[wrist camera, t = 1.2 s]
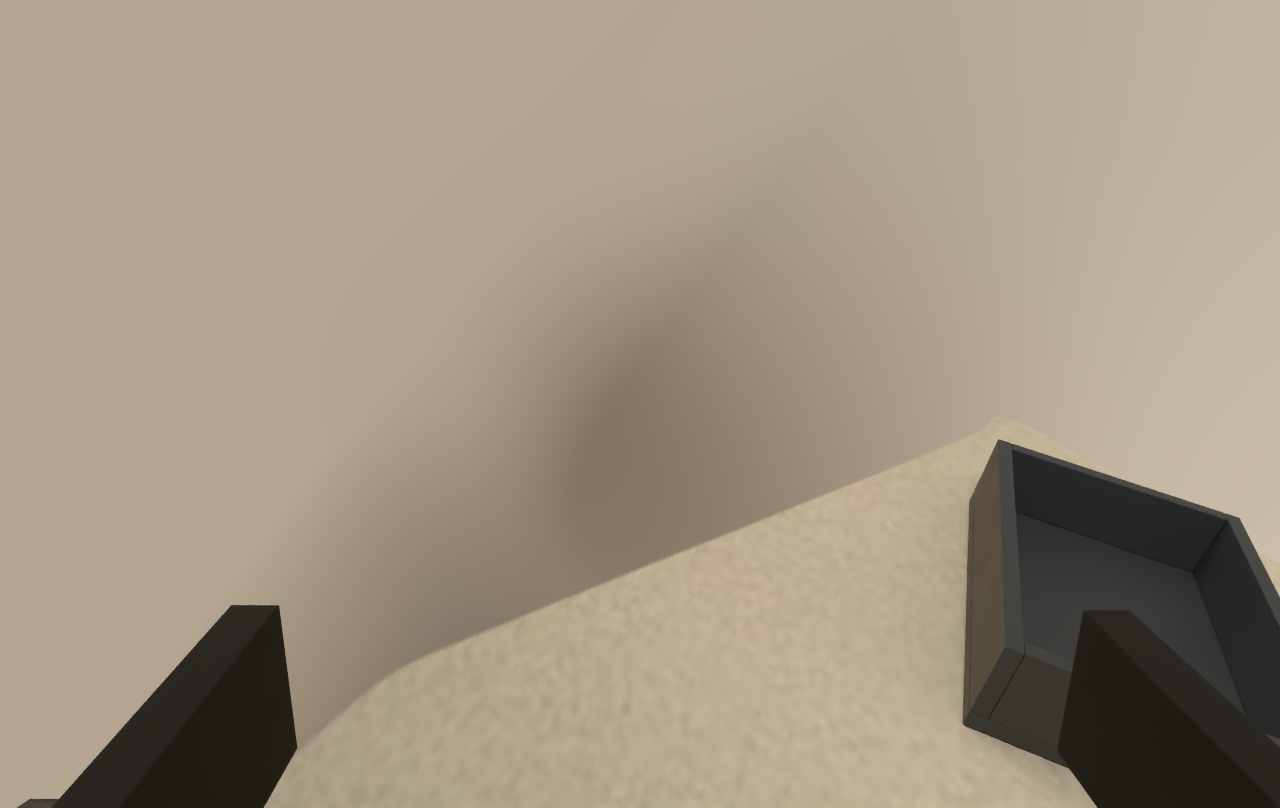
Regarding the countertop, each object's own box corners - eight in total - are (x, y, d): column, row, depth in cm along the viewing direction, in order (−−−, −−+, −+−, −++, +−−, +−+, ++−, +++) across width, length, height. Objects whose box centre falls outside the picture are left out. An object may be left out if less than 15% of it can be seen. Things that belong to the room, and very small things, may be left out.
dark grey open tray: (962, 724, 36) (1005, 646, 34) (969, 501, 53) (998, 438, 50) (1304, 865, 33) (1378, 789, 31) (1197, 580, 50) (1240, 517, 47)
